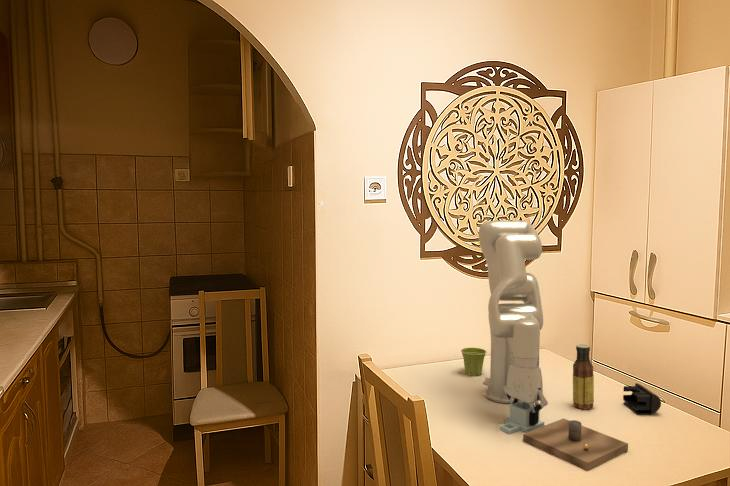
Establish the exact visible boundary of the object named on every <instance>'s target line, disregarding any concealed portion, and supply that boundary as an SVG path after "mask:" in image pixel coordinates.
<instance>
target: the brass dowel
mask: <svg viewBox="0 0 730 486" xmlns="http://www.w3.org/2000/svg"><path fill="white" fill-rule="evenodd" d="M584 450H585V451H588V450H589V444H587V443H584Z"/></svg>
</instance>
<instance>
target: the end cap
mask: <svg viewBox="0 0 730 486" xmlns="http://www.w3.org/2000/svg"><path fill="white" fill-rule="evenodd" d="M622 390H623V392H631V394H622V395H623V396H622V398H623V399H622V400H623V406H625V407H627V408H628V409H629V410H630V411H631V412H632V413H634V414H635V415H636V416H637V415H638V416H650V415H653V414H655V413H657V412H658V411H659V410H660V409H661V406H662V401H661V399H660V397H659V396H658V395H657V394H656V393H654V392H652V391H651V390H649V389H648V388H646V387H645V386H643V385H641V384H640V383H636V382H635V383H634V385H632V386H631V385H630V386H629V385H628V386H627V385H626V386H625V385H624V386H623V389H622Z"/></svg>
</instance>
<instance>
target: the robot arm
mask: <svg viewBox="0 0 730 486" xmlns="http://www.w3.org/2000/svg"><path fill="white" fill-rule="evenodd" d="M478 242H479V243H478V244H479V246H480V250H481V252H482V255H483V257H484V260H485V262H486V266H487V275H488V276H487V277H488V283H489V291H490V292H489V293H490V296H489V299H488V305H487V306H488V307H487V308H488V325H489V329H490V330H489V331H490V332H489V333H490V372H489V373H490V374H489V376H490V377H485V378H484V380H483V381H482V384H483V385H484V386H487V389H486V390H485V393H484V394H485V397H486V399H488V400H490V401H492V402H495V403H500V404H509V405H511V404H514V403H517V402H520V401H523V402H526V403H529V404H530V408H531V412H530V416H529V424H530V425H531V426H532V425H534V424H537V423H538V411H539V412H540V411H541V410H542V409H543V408H545V407H546V406H547V405H549V402H548V400H547V398H546V397H545V396H544V393H543V392H544V391H543V390H544V389H543V388H544V387H543V375H542V369H541V367H540V343H541V337H540V336H541V330H542V329H543V325H544V314H543V313H544V312H543V305H542V299H541V293H540V286H539V282H538V279H537V277H536V276H535V275H534V274H533V273H530V272H527V270H526V262H525V260H537V259H539V258H540V257H541V256H542V254H543V253H542V251H543V244H542V240H541V237H540V236H539V233H538V232H537V231H536V230H535V228H534V226H533V225H532V224H531V222H529V221H527V220H490V221H486V222H483V223H482V224H481V225H480V226H479V229H478ZM499 301H501V302H502V301H504V302H521V301H522V303H499ZM539 401H540V402H539ZM534 405H535V406H534Z"/></svg>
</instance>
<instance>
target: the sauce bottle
mask: <svg viewBox="0 0 730 486" xmlns="http://www.w3.org/2000/svg"><path fill="white" fill-rule="evenodd" d="M575 347H576V348H575V350H576V359H575V361H574V363H573V364H572V401H573V405H574V407H576V408H577V409H581V410H591V409H593V408H594V401H595V395H594V393H595V386H594V384H595V383H594V382H595V380H594V379H595V378H594V377H595V376H594V366H593V364H592V362H591V360H590V351H591V348H590V347H591V346H590V345H589V344H584V343H583V344H582V343H581V344H577V345H575Z"/></svg>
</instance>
